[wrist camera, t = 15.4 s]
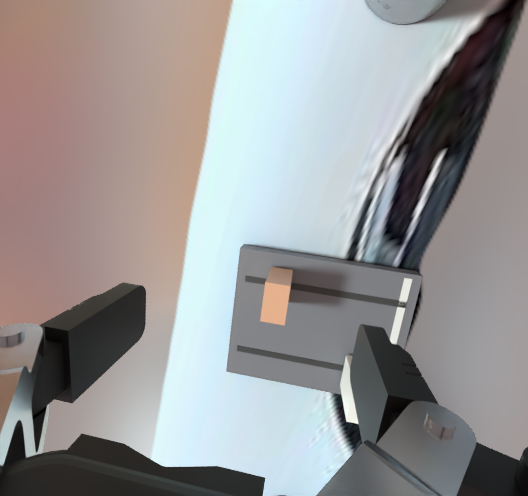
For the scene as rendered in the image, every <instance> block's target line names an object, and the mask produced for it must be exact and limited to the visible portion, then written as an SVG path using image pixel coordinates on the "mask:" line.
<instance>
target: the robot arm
mask: <svg viewBox="0 0 528 496" xmlns="http://www.w3.org/2000/svg"><path fill="white" fill-rule="evenodd" d="M365 1H366V3H367V5H368V7H369V8H370V9H371V10H372V11H373V13H374V14H376V15H377V16H378V17H380V18H381V19H383V20H385V21H388V22H391V23H396V24H409V23H414V22H418V21H421V20H423V19H425V18H427V17H429V16H430V15H432V14H434V13H435V12H436V11H437V10H438V9H440V8H441V7H442V6H443V5H444V4H445V2H446V1H447V0H365ZM145 307H146V291H145V288H144V287H143V286H140V285H134V284H128V283H121V284H119V285H117V286H116V287H114V288H112V289H110V290H108V291H107V292H105V293H103V294H100V295H97V296H93V297H91V298H89V299H87V300H85V301H83V302H82V303H80V305H79V304H78V305H76V306H74V307H73V308H71V309H70V310H67V311H65V312H63V313H61V314H59V315H58V316H56V317H54V318H52V319H51V320H48V321H47V322H45V323H43V324H41V325H36V324H30V323H21V324H12V325H7V326H3V327H0V496H262V495H263V489H264V482H265V478H264V477H260V476H255V475H251V474H247V473H243V472H239V471H235V470H231V469H226V468H222V467H218V466H207V467H164V466H161V465H159V464H157V463H156V462H154V461H152V460H150V459H149V458H147V457H145V456H144V455H142V454H140V453H139V452H137V451H135V450H134V449H132V448H130V447H129V446H127V445H125V444H122V443H118V442H114V441H110V440H106V439H102V438H97V437H93V436H89V435H85V434H81V435H80V436H79V437H78V438H77V439H76V441H75V442H74V443H73V444H72V445H71V446H70V448H68V450H58V451H50V452H46V453H42V451H43V446H44V441H45V435H46V429H47V424H48V418H49V403H50V402H52V400H54V399H56V400H60V401H64V402H69V403H73V402H74V401H75V400H76V399H77V398H78V397H79V396H80V395H81V394H82V393H84V392H85V391H86V390H87V389H88V388H89V387H90V386H91V385H92V384H93V383H94V382H95V381H96V380H97V379H98V378H99V377H101V376H102V375H103V374H104V373H105V372H106V371H107V370H108V369H109V368H110V367H111V366H112V365H113V364H114V363H115V362H116V361H117V360H118V359H120V357H122V356H123V355H124V354H125V353H126V352H127V351H128V350H129V349H130V348H131V347H132V346H133V345H134V344H135V343H136V342H138V341H139V339H140V338H141V336H142V334H143V332H144V329H145V313H146V312H145V310H146V308H145ZM350 383H351V388H352V393H353V398H354V403H355V408H356V413H357V418H358V423H359V428H360V433H361V438H362V444H361V445H360V446H359V448H358V449H357V450H356V451H355V452H354V453H353V454H352V456H351V457H350V458H349V459H348V460H347V461H346V462H345V464H344V465H343V466H342V467H341V468H340V469H339V470H338V472H337V473H336V474H335V475H334V476H333V477H332V478H331V480H330V481H329V482H328V483H327V484H326V485H325V486H324V487H323V489H322V490H321V491H320V492H319V493H318V494H317V495H316V496H528V447H527V448H526V449H525V450H524V451H523V454H522V456H521V459H520V461H519V460H516V459H514V458H511V457H509V456H507V455H504V454H502V453H499V452H497V451H495V450H493V449H490V448H488V447H486V446H483V445H481V444H479V443H477V442H476V437H475V434H474V432H473V431H472V429H471V428H470V427H469V426H468V424H467V423H466V422H465V421H464V420H463V419H461V418H460V417H459V416H458V415H456V414H455V413H453V412H452V411H450V410H448V409H447V408H445V407H442V406H440V405H439V404H438V403H437V401H436V399H435V397H434V396H433V394H432V392H431V390H430V389H429V387H428V385H427V383H426V382H425V380H424V378H423V377H421V373H420V371H419V369H418V368H416V364H415V362H414V361H413V359H412V357H411V355H410V354H409V353H408V352H406V351H405V350H404V349H403V348H402V347H401V346H400V345H397V344H392V343H391V341H390V339H389V337H388V335H387V333H386V331H385V329H384V328H383V327H377V326H371V325H365V324H360V326H359V329H358V333H357V337H356V342H355V347H354V351H353V356H352V361H351V367H350Z"/></svg>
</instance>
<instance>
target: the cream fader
mask: <svg viewBox="0 0 528 496" xmlns="http://www.w3.org/2000/svg"><path fill="white" fill-rule="evenodd" d="M351 361H352V356H350V355H346V358H345V363H344V368H343V373H342V377H341V382H340V388H341V394H342V399H343V405H344V411H345V416H346V421H347V422H352V423H357V424H359V423H358V418H357V413H356V408H355V403H354V398H353V393H352V388H351V383H350V367H351Z"/></svg>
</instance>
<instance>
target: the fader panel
mask: <svg viewBox="0 0 528 496" xmlns="http://www.w3.org/2000/svg"><path fill="white" fill-rule="evenodd" d="M271 267H277V268H283V269H290V270H293V274H292V281H291V288H290V294H289V300H288V307H287V313H286V320H285V326H284V325H279V324H273V323H268V322H262V321H260V318H261V310H262V303H263V295H264V288H265V282H266V279H267V277H268V274H269V272H270V270H271ZM422 278H423V276H422V275H421V274H420V273H418V272H417V271H413V270H407V269H400V268H394V267H387V266H381V265H374V264H368V263H361V262H355V261H348V260H342V259H335V258H328V257H322V256H315V255H309V254H302V253H296V252H289V251H283V250H276V249H270V248H263V247H257V246H250V245H243V246H242V247H241V248H240V255H239V264H238V273H237V281H236V290H235V299H234V308H233V317H232V326H231V335H230V344H229V353H228V362H227V372H232V373H237V374H242V375H247V376H252V377H257V378H262V379H267V380H272V381H277V382H282V383H287V384H292V385H297V386H302V387H307V388H311V389H316V390H321V391H326V392H331V393H336V394H341V388H340V382H341V377H342V373H343V368H344V363H345V358H346V355H350V356H353V351H354V347H355V342H356V337H357V333H358V329H359V326H360V324H365V325H371V326H377V327H383V328H384V329H385V331H386V333H387V335H388V337H389V339H390V341H391V343H392V344H397V345H400V346H401V347H402V348H403V349H405V345H406V341H407V337H408V333H409V329H410V325H411V321H412V317H413V313H414V309H415V305H416V301H417V298H418V294H419V290H420V286H421V282H422ZM341 395H342V394H341Z"/></svg>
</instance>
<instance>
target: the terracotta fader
mask: <svg viewBox="0 0 528 496" xmlns="http://www.w3.org/2000/svg"><path fill="white" fill-rule="evenodd" d="M292 274H293V270H290V269H283V268H277V267H271V270H270V272H269V274H268V277H267V279H266V282H265V288H264V295H263V303H262V310H261V318H260V321H262V322H268V323H273V324H279V325H284V326H285V320H286V313H287V307H288V300H289V294H290V288H291V281H292Z"/></svg>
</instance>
